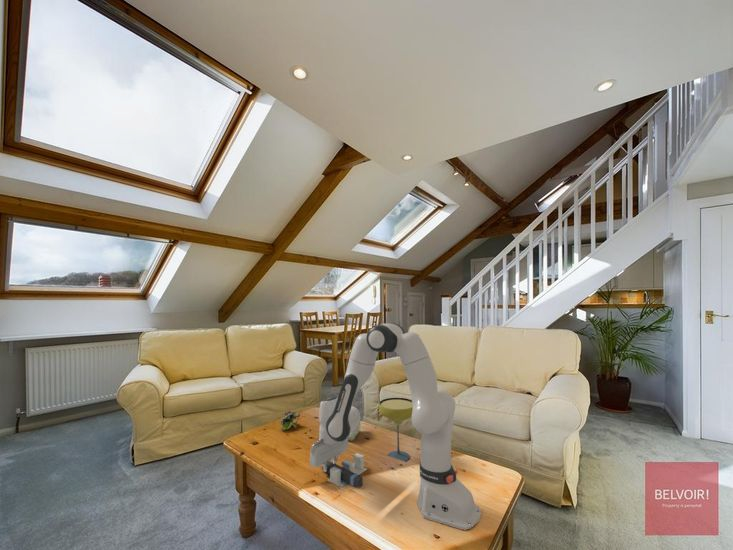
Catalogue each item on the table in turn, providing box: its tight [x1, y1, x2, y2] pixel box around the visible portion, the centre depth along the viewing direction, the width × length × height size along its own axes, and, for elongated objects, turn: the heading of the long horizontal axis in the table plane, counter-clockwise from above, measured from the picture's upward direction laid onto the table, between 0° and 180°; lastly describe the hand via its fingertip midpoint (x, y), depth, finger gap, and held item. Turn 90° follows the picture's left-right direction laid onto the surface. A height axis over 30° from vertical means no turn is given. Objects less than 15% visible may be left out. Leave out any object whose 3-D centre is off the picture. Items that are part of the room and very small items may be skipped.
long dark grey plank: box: [321, 460, 364, 489], centre depth 137 cm, size 20×3×3 cm, turn 51°
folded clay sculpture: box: [348, 423, 361, 442], centre depth 182 cm, size 18×13×16 cm
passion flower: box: [279, 410, 301, 432], centre depth 193 cm, size 11×11×12 cm
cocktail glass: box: [378, 397, 413, 462], centre depth 158 cm, size 18×18×25 cm
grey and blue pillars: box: [327, 453, 368, 488], centre depth 140 cm, size 8×17×6 cm, turn 142°
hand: (329, 468), depth 141 cm, fingers open, 3 cm apart
